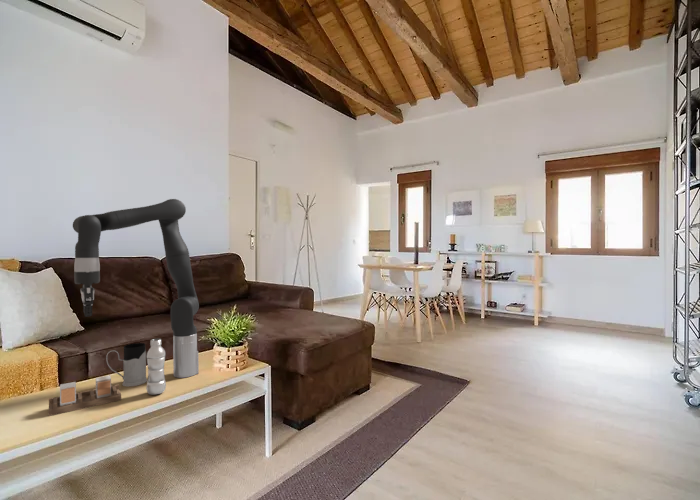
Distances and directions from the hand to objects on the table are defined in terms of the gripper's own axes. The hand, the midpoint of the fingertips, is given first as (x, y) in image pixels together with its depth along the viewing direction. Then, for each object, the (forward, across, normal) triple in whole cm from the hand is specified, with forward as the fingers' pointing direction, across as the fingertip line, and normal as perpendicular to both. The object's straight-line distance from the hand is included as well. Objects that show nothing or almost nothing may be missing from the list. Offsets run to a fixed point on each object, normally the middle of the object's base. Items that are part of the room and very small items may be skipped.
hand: (87, 314), depth 132 cm
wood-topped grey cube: (+28, +7, -6) cm, 30 cm away
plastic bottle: (+30, +12, +20) cm, 38 cm away
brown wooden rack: (+30, +7, -1) cm, 31 cm away
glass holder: (+30, -7, +13) cm, 34 cm away
